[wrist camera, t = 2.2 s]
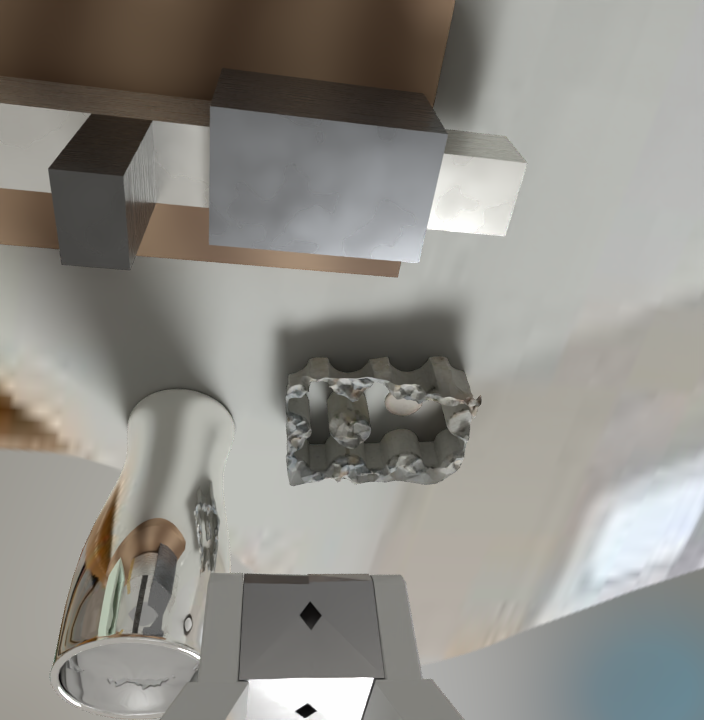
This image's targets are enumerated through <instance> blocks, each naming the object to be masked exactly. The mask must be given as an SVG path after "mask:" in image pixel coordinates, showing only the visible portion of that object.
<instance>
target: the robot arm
mask: <svg viewBox="0 0 704 720" xmlns="http://www.w3.org/2000/svg"><path fill="white" fill-rule="evenodd" d="M160 720H464V718H463V717H462V716H461V715H460V714H459V712H458V711H457V710H456V709H455V707H454V706H453V705H452V703H451V702H450V701H449V700H448V698H447V697H446V696H445V695H444V693H443V692H442V691H441V690H440V688H439V687H438V686H437V685H436V684H435V682H434V681H433V680H432V679H423V678H422V673H421V667H420V661H419V655H418V650H417V644H416V638H415V632H414V627H413V621H412V615H411V610H410V604H409V598H408V592H407V587H406V582H405V580H404V579H403V577H402V576H401V575H369V574H307V575H291V574H244V584H243V573H210V577H209V581H208V586H207V595H206V604H205V614H204V623H203V633H202V642H201V651H200V661H199V670H198V680H197V682H187V683H186V684H185V686H184V687H183V688H182V690H181V691H180V692H179V694H178V695H177V696H176V698H175V699H174V701H173V702H172V703H171V705H170V706H169V707H168V709H167V710H166V711H165V713H164V714H163V716H162V717H161V718H160Z"/></svg>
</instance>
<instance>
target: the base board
mask: <svg viewBox="0 0 704 720" xmlns="http://www.w3.org/2000/svg"><path fill="white" fill-rule="evenodd" d="M454 5H455V0H0V76H5V77H14V78H22V79H31V80H39V81H47V82H56V83H64V84H72V85H81V86H89V87H97V88H106V89H114V90H123V91H131V92H139V93H148V94H156V95H164V96H173V97H181V98H189V99H198V100H206V101H212V98H213V95H214V92H215V89H216V86H217V83H218V80H219V77H220V73H221V70H222V68H227V69H235V70H243V71H251V72H259V73H266V74H274V75H282V76H290V77H298V78H306V79H314V80H321V81H329V82H337V83H345V84H353V85H361V86H369V87H376V88H384V89H392V90H400V91H408V92H416V93H424V95H425V96H426V98H427V100H428V101H429V103H430V105H431V106H432V108H433V106H434V101H435V96H436V92H437V87H438V82H439V77H440V72H441V68H442V63H443V58H444V53H445V48H446V43H447V39H448V34H449V29H450V24H451V19H452V15H453V10H454ZM0 244H4V245H15V246H27V247H39V248H51V249H59V242H58V235H57V228H56V222H55V215H54V208H53V201H52V194H51V193H47V192H37V191H27V190H16V189H6V188H0ZM136 256H147V257H159V258H171V259H183V260H195V261H207V262H219V263H230V264H242V265H254V266H266V267H278V268H290V269H302V270H314V271H326V272H338V273H350V274H362V275H374V276H386V277H398V274H399V269H400V264H401V262H400V261H389V260H377V259H366V258H355V257H343V256H332V255H320V254H309V253H297V252H286V251H275V250H263V249H252V248H240V247H229V246H217V245H209V208H204V207H194V206H183V205H173V204H162V203H156V205H155V208H154V210H153V213H152V215H151V218H150V220H149V223H148V226H147V228H146V231H145V233H144V236H143V239H142V241H141V244H140V246H139V249H138V251H137V254H136Z"/></svg>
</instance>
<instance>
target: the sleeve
mask: <svg viewBox="0 0 704 720" xmlns="http://www.w3.org/2000/svg"><path fill="white" fill-rule="evenodd" d="M447 137H448V133H447V132H446V130H445V128H444V127H443V125H442V123H441V122H440V120H439V118H438V116H437V115H436V113H435V111H434V110H433V108H432V106H431V105H430V103H429V101H428V100H427V98H426V96H425V95H424V93H416V92H408V91H400V90H392V89H384V88H376V87H369V86H361V85H353V84H345V83H337V82H329V81H321V80H314V79H306V78H298V77H290V76H282V75H274V74H266V73H259V72H251V71H243V70H235V69H227V68H222V70H221V73H220V77H219V80H218V83H217V86H216V89H215V92H214V95H213V98H212V101H211V105H210V165H209V245H217V246H229V247H240V248H252V249H263V250H275V251H286V252H297V253H309V254H320V255H332V256H343V257H355V258H366V259H377V260H389V261H400V262H412V263H419V261H420V256H421V252H422V247H423V243H424V239H425V234H426V230H427V225H428V221H429V217H430V212H431V208H432V203H433V199H434V195H435V190H436V186H437V181H438V177H439V172H440V168H441V164H442V159H443V155H444V150H445V146H446V142H447Z"/></svg>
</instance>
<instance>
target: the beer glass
mask: <svg viewBox="0 0 704 720" xmlns="http://www.w3.org/2000/svg"><path fill="white" fill-rule="evenodd" d="M234 436H235V426H234V422H233V419H232V417H231V415H230V413H229V412H228V410H227V409H226V408H225V407H224V406H223V405H222V404H221V403H220V402H218V401H217V400H215V399H214V398H212V397H210V396H208V395H206V394H203V393H200V392H197V391H193V390H187V389H168V390H163V391H159V392H156V393H153V394H151V395H149V396H147V397H145V398H144V399H142V400H141V401H140V402H139V403H138V404H137V405H136V406H135V407H134V409H133V410H132V412H131V414H130V417H129V421H128V428H127V454H126V459H125V463H124V466H123V469H122V472H121V474H120V476H119V478H118V480H117V482H116V484H115V486H114V488H113V490H112V492H111V493H110V495H109V497H108V499H107V501H106V503H105V505H104V506H103V508H102V510H101V512H100V514H99V516H98V518H97V519H96V521H95V523H94V525H93V527H92V530H91V532H90V534H89V536H88V538H87V540H86V543H85V545H84V547H83V549H82V552H81V554H80V557H79V560H78V563H77V566H76V569H75V572H74V575H73V578H72V581H71V585H70V589H69V593H68V597H67V600H66V604H65V608H64V613H63V617H62V623H61V627H60V632H59V637H58V642H57V647H56V652H55V657H54V662H53V665H52V668H51V671H50V682H51V685H52V688H53V689H54V691H55V692H56V693H57V695H58V696H60V697H61V698H62V699H63V700H64V701H66V702H67V703H69V704H71V705H72V706H74V707H76V708H79V709H81V710H83V711H86V712H89V713H92V714H96V715H100V716H105V717H110V718H118V719H132V720H138V719H139V720H140V719H156V718H161V717H162V716H163V714H164V713H165V711H166V710H167V709H168V707H169V706H170V705H171V703H172V702H173V701H174V699H175V698H176V696H177V695H178V694H179V692H180V691H181V690H182V688H183V687H184V686H185V684H186V683H187V682H197V680H198V670H199V661H200V651H201V642H202V633H203V623H204V614H205V604H206V595H207V586H208V581H209V577H210V573H231V559H230V542H229V533H228V524H227V516H226V508H225V501H224V490H223V475H224V469H225V465H226V461H227V459H228V456H229V453H230V450H231V448H232V445H233V441H234Z"/></svg>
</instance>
